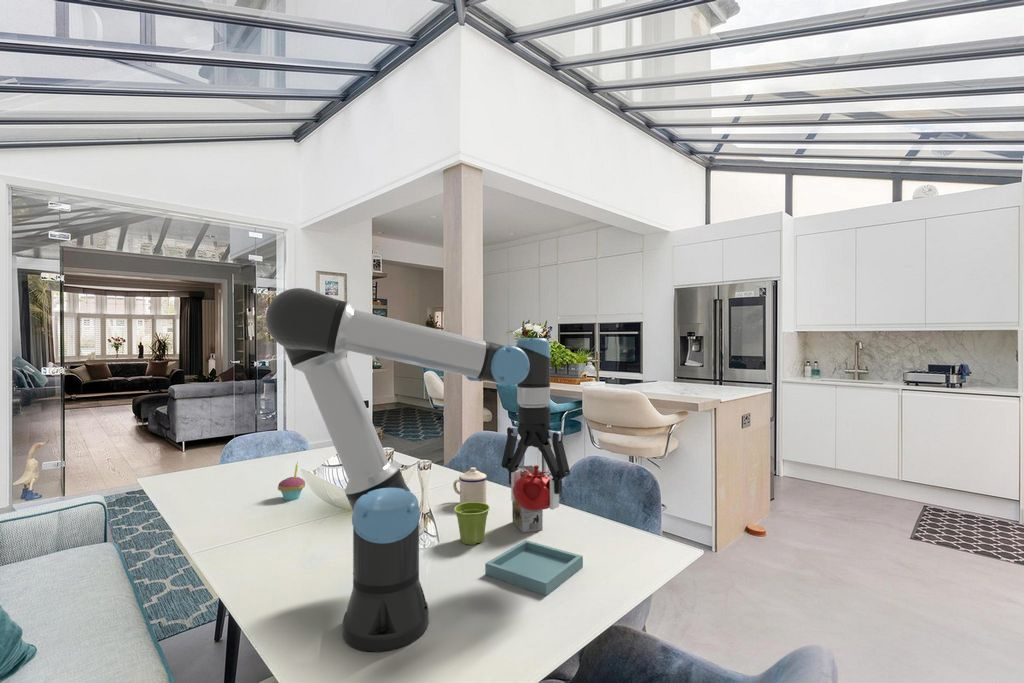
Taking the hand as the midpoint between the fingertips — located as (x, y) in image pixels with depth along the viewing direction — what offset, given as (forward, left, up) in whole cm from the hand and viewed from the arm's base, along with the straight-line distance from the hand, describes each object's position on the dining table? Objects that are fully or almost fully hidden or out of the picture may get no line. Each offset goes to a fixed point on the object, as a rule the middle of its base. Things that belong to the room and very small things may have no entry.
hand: (534, 503), depth 109 cm
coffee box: (+22, +17, -15) cm, 32 cm away
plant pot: (+5, +23, -15) cm, 28 cm away
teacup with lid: (+28, +44, -15) cm, 54 cm away
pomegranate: (0, 0, -1) cm, 1 cm away
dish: (0, 0, -15) cm, 15 cm away
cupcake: (-3, +97, -15) cm, 98 cm away
